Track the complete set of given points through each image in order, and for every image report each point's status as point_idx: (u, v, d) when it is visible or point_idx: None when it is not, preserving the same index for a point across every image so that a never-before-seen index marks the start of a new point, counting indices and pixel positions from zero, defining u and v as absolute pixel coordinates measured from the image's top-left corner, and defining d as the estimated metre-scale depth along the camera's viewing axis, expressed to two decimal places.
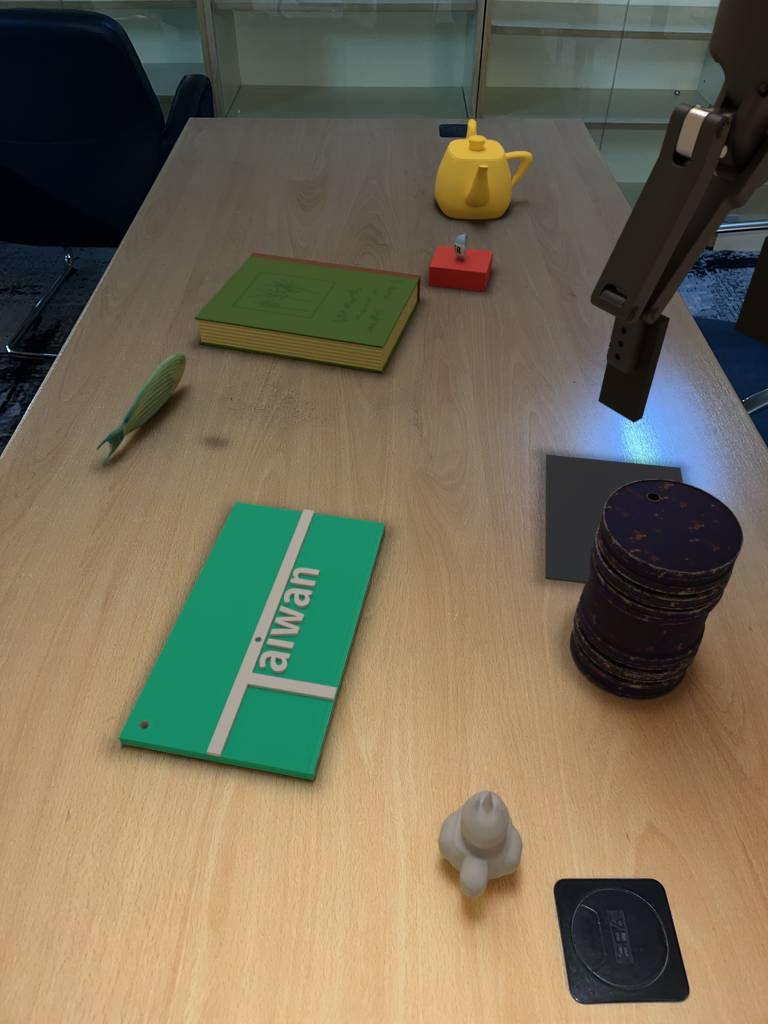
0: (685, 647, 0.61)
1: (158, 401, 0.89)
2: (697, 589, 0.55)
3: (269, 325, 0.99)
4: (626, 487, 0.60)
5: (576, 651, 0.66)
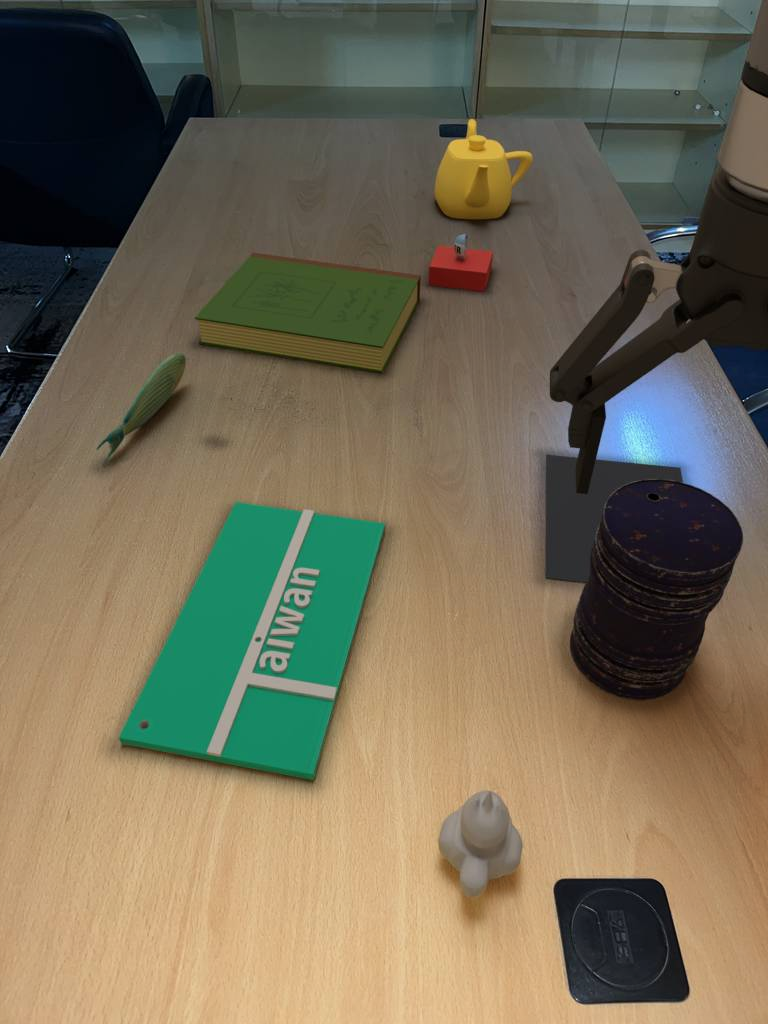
0: (685, 647, 0.61)
1: (158, 401, 0.89)
2: (697, 589, 0.55)
3: (269, 325, 0.99)
4: (626, 487, 0.60)
5: (576, 651, 0.66)
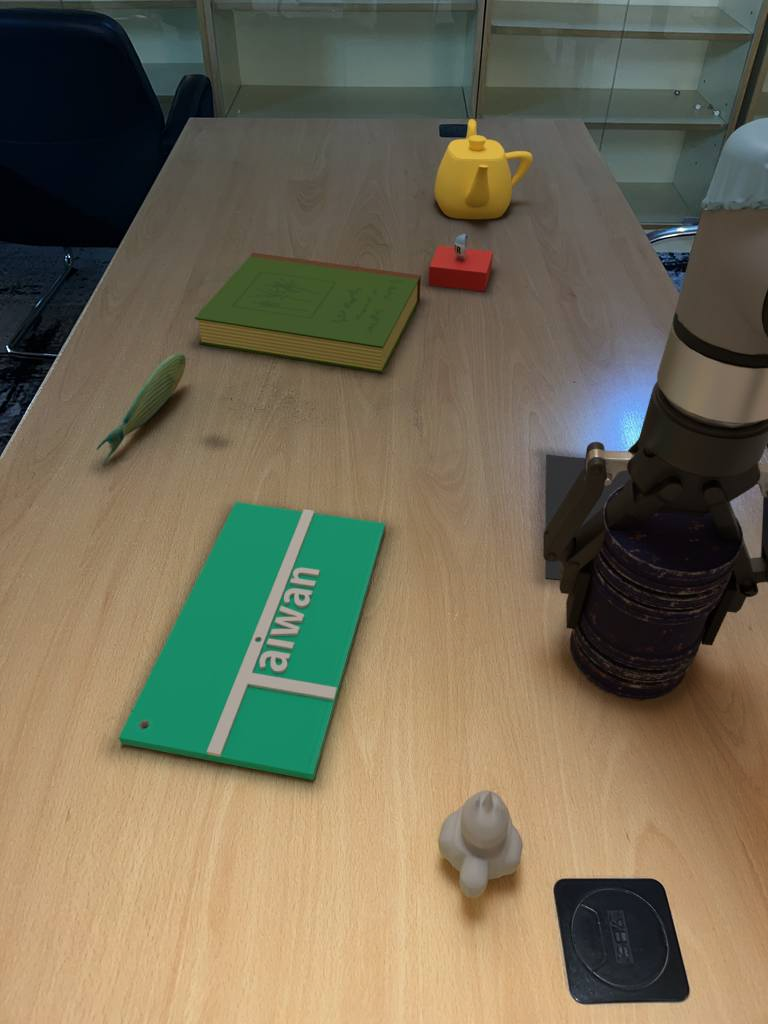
0: (685, 647, 0.61)
1: (158, 401, 0.89)
2: (697, 589, 0.55)
3: (269, 325, 0.99)
4: None
5: (576, 651, 0.66)
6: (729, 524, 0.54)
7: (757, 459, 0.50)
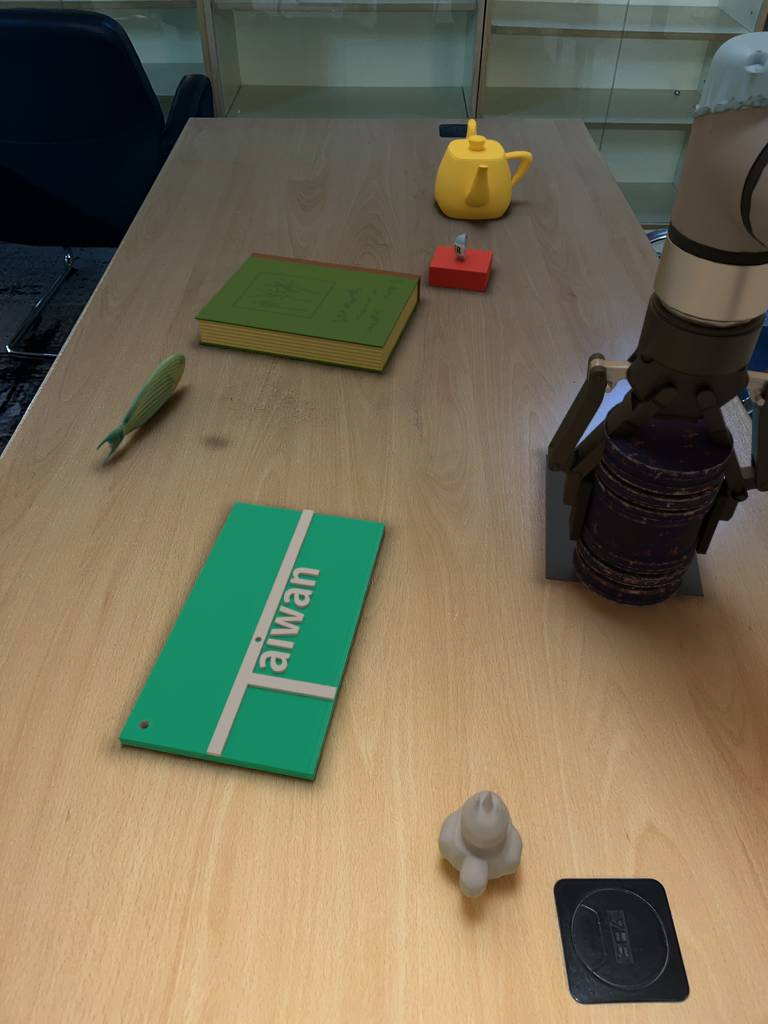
0: (680, 552, 0.65)
1: (158, 401, 0.89)
2: (691, 489, 0.59)
3: (269, 325, 0.99)
4: None
5: (579, 563, 0.70)
6: (721, 428, 0.59)
7: (745, 360, 0.54)
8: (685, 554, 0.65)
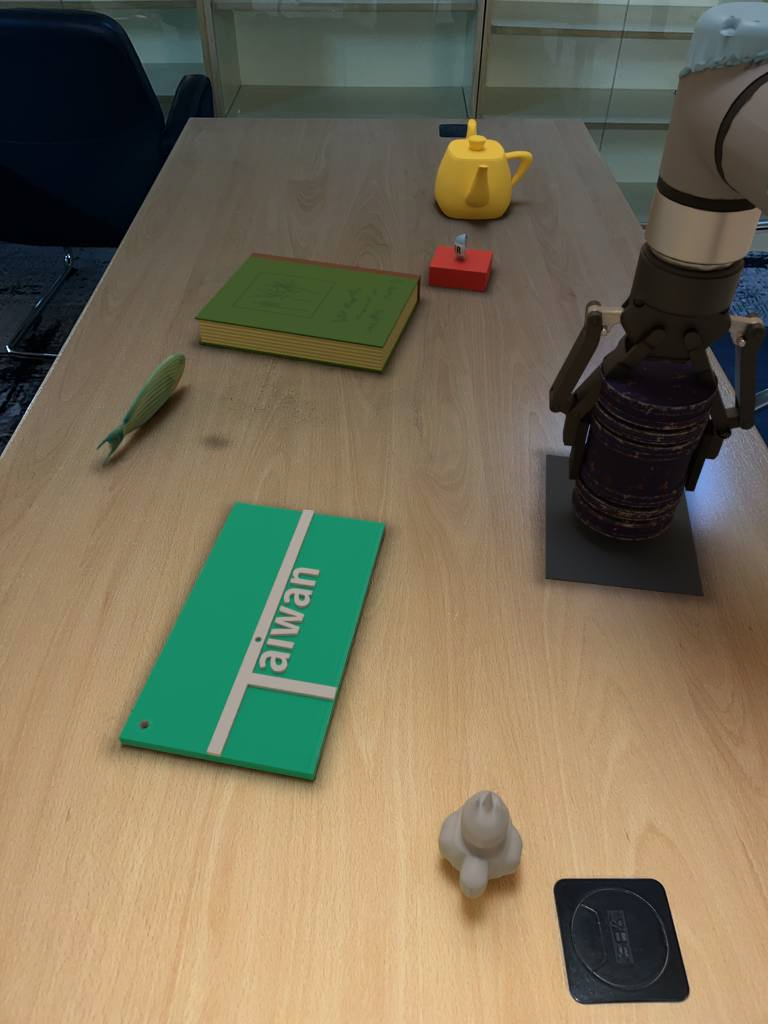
0: (670, 487, 0.71)
1: (158, 401, 0.89)
2: (679, 424, 0.65)
3: (269, 325, 0.99)
4: None
5: (577, 502, 0.76)
6: (706, 368, 0.65)
7: (727, 302, 0.60)
8: (675, 489, 0.71)
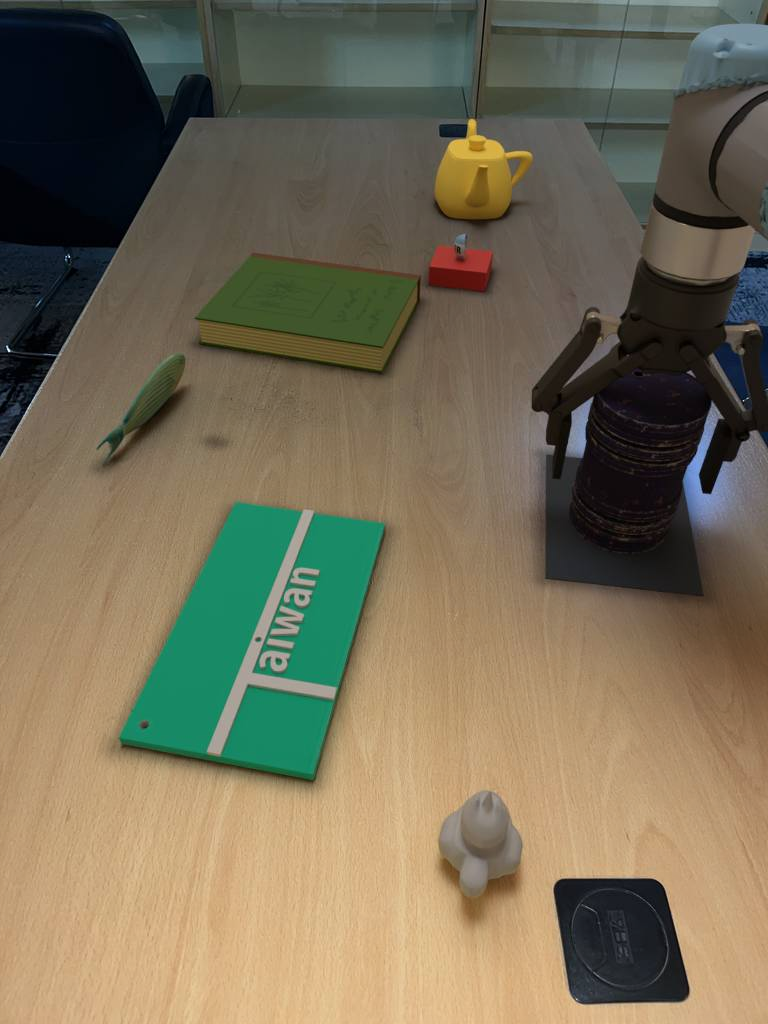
0: (665, 502, 0.72)
1: (158, 401, 0.89)
2: (673, 442, 0.67)
3: (269, 325, 0.99)
4: None
5: (574, 516, 0.78)
6: (709, 377, 0.65)
7: (722, 316, 0.61)
8: (669, 504, 0.73)
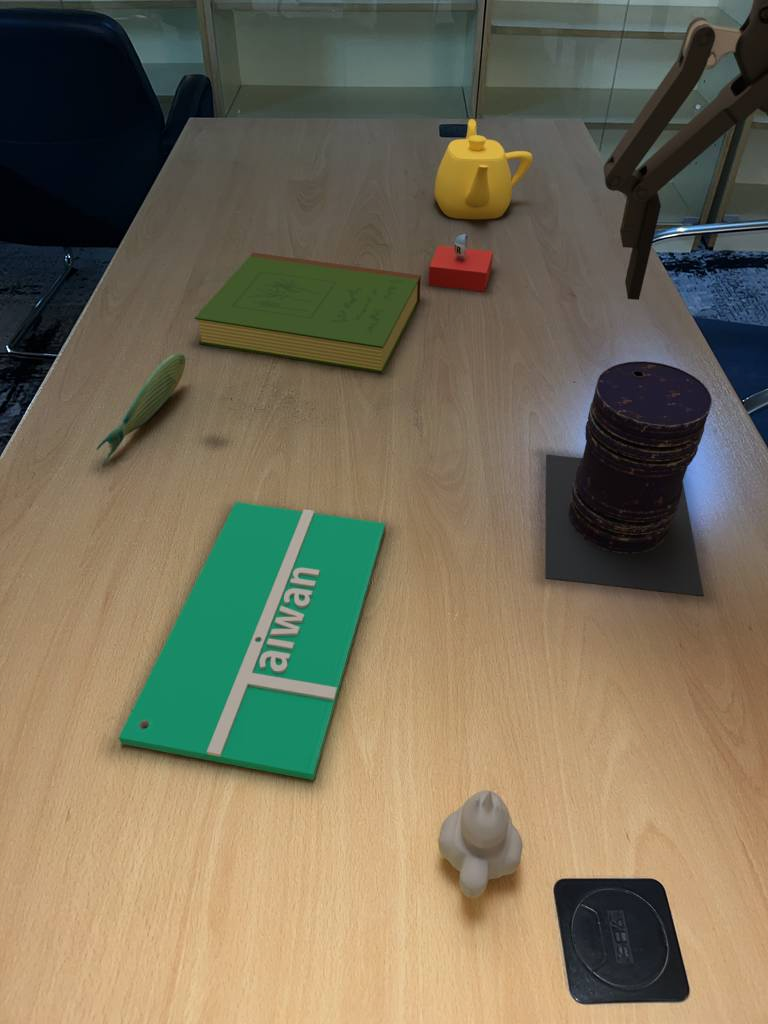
0: (665, 502, 0.72)
1: (158, 401, 0.89)
2: (673, 442, 0.67)
3: (269, 325, 0.99)
4: (615, 367, 0.72)
5: (574, 516, 0.78)
6: None
7: None
8: (669, 504, 0.73)
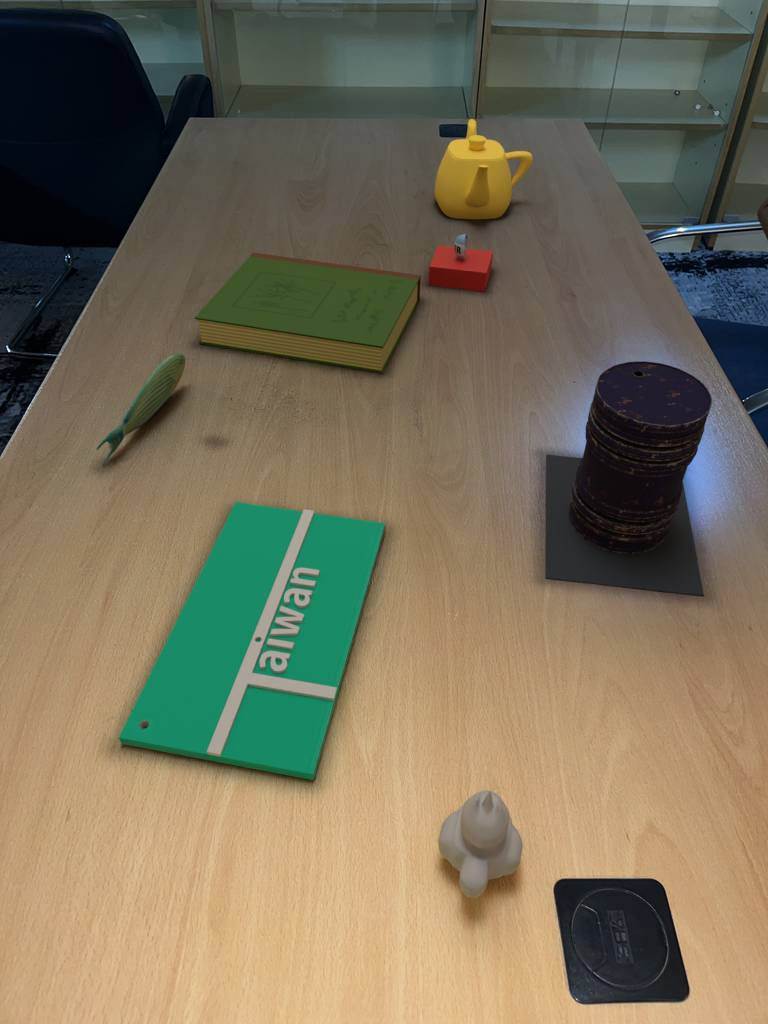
0: (665, 502, 0.72)
1: (158, 401, 0.89)
2: (673, 442, 0.67)
3: (269, 325, 0.99)
4: (615, 367, 0.72)
5: (574, 516, 0.78)
6: None
7: None
8: (669, 504, 0.73)
